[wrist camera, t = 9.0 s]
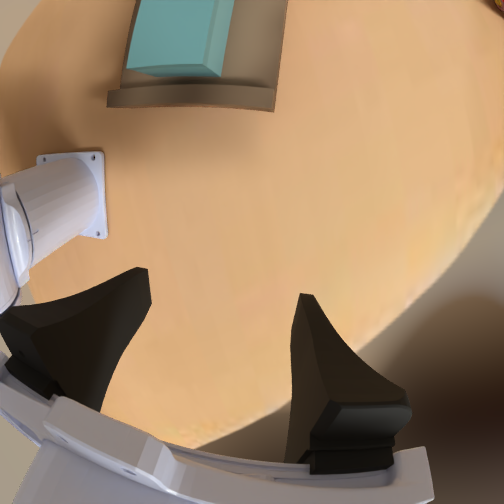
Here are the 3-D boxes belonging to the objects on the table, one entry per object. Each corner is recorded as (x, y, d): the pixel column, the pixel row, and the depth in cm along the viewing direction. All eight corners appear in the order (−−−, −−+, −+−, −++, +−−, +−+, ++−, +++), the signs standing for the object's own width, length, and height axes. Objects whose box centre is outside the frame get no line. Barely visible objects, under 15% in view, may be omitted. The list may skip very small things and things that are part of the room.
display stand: (132, 108, 17) (106, 107, 14) (161, -38, 11) (144, -55, 8) (274, 112, 17) (271, 108, 14) (293, -45, 10) (293, -68, 7)
